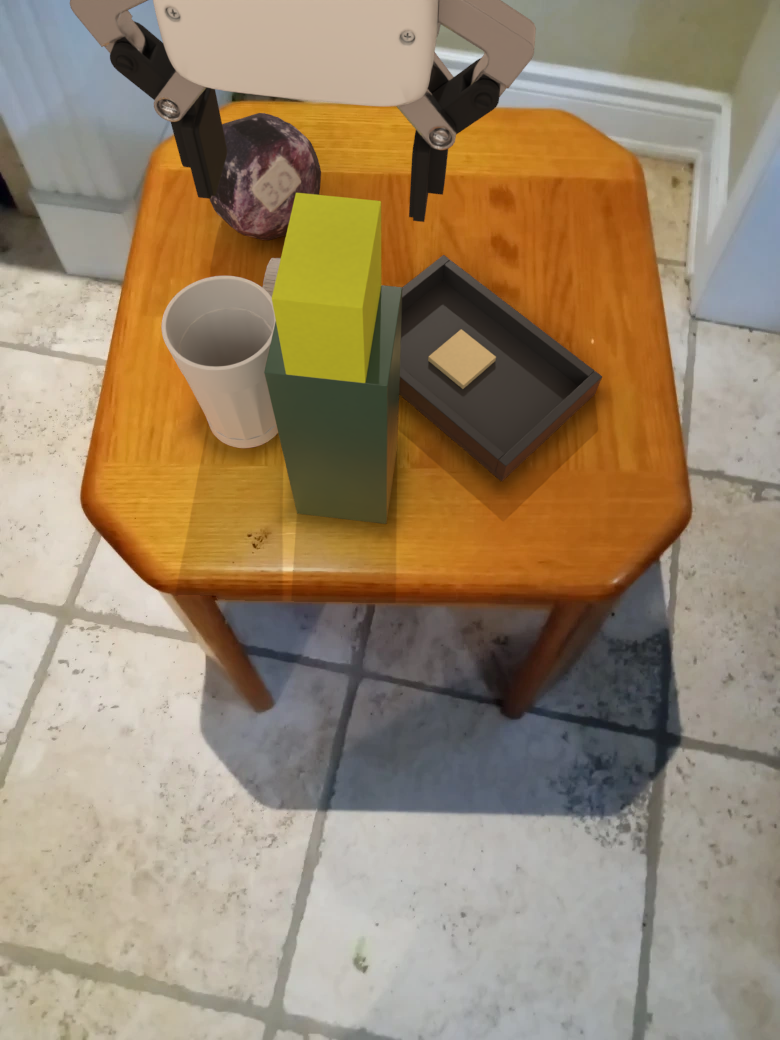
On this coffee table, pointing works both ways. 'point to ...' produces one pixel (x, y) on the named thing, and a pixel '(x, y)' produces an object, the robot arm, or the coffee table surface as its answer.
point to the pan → (487, 370)
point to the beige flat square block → (462, 358)
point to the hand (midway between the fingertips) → (316, 187)
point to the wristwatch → (271, 275)
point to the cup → (225, 354)
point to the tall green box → (342, 426)
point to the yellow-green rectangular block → (329, 287)
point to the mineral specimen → (264, 175)
